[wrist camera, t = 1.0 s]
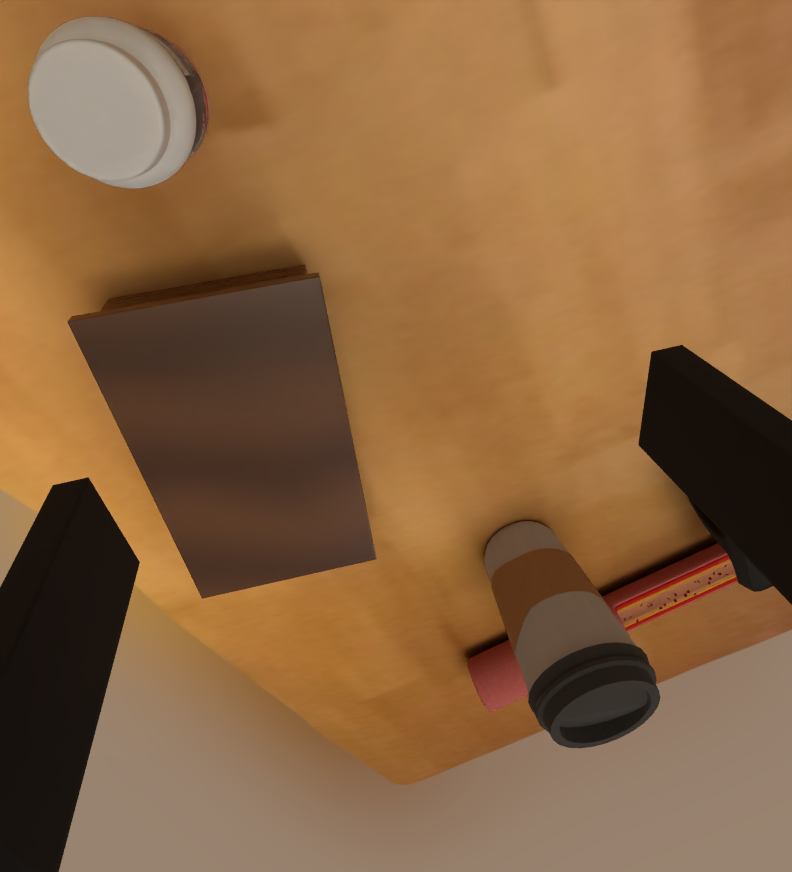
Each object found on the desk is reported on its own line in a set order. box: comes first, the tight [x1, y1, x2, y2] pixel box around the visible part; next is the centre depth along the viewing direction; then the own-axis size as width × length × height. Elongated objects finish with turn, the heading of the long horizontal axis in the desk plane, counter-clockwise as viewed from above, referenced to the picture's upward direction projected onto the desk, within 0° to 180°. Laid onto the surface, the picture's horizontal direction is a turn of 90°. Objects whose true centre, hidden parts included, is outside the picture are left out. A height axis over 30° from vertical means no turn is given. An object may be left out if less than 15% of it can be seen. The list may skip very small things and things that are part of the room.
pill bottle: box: [28, 16, 209, 189], centre depth 22 cm, size 5×5×10 cm
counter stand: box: [68, 265, 376, 598], centre depth 34 cm, size 20×12×4 cm, turn 8°
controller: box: [688, 497, 773, 592], centre depth 43 cm, size 4×12×10 cm, turn 29°
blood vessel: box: [467, 543, 738, 712], centre depth 51 cm, size 42×5×5 cm, turn 116°
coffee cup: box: [485, 521, 660, 748], centre depth 41 cm, size 8×8×15 cm
